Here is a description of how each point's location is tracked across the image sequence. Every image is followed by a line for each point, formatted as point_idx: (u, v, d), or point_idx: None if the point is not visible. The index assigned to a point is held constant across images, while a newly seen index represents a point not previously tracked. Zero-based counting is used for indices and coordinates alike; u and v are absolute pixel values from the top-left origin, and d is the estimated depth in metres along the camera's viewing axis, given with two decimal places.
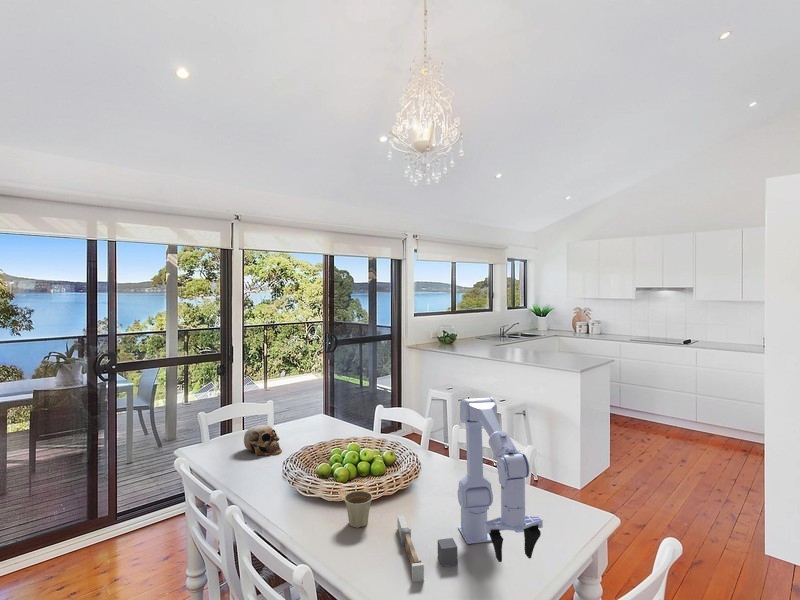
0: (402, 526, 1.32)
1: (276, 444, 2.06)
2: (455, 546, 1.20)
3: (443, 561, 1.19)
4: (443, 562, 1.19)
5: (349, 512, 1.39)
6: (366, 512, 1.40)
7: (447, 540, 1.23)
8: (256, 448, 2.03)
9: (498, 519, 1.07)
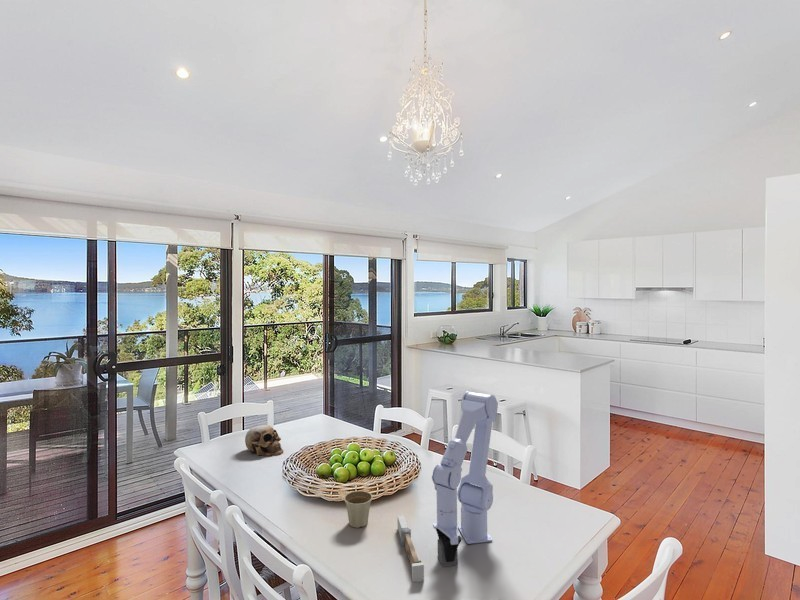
0: (402, 526, 1.32)
1: (277, 444, 2.05)
2: None
3: (443, 561, 1.19)
4: (443, 562, 1.19)
5: (349, 512, 1.39)
6: (366, 512, 1.40)
7: None
8: (257, 448, 2.03)
9: None
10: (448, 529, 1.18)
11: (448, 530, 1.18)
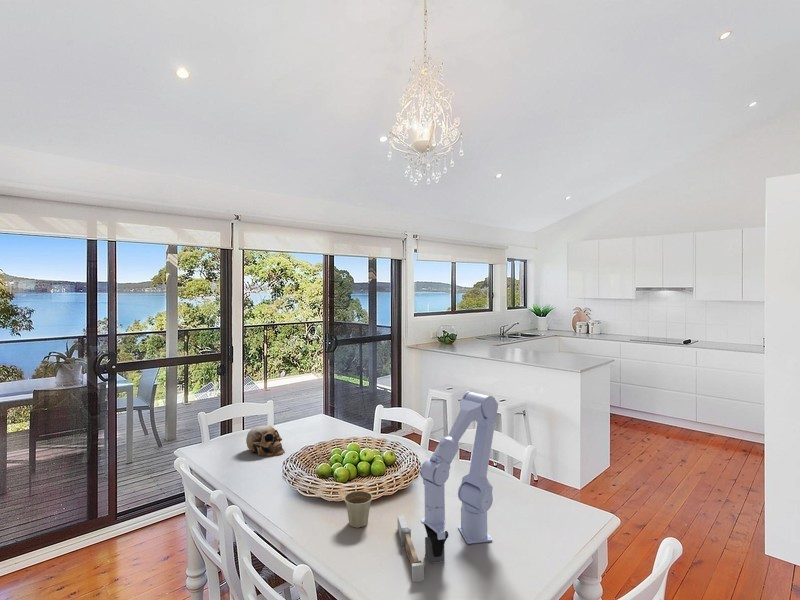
0: (402, 526, 1.32)
1: (279, 444, 2.05)
2: None
3: (430, 558, 1.20)
4: (430, 559, 1.20)
5: (349, 512, 1.39)
6: (366, 512, 1.40)
7: None
8: (259, 448, 2.02)
9: None
10: (435, 524, 1.20)
11: (435, 525, 1.20)
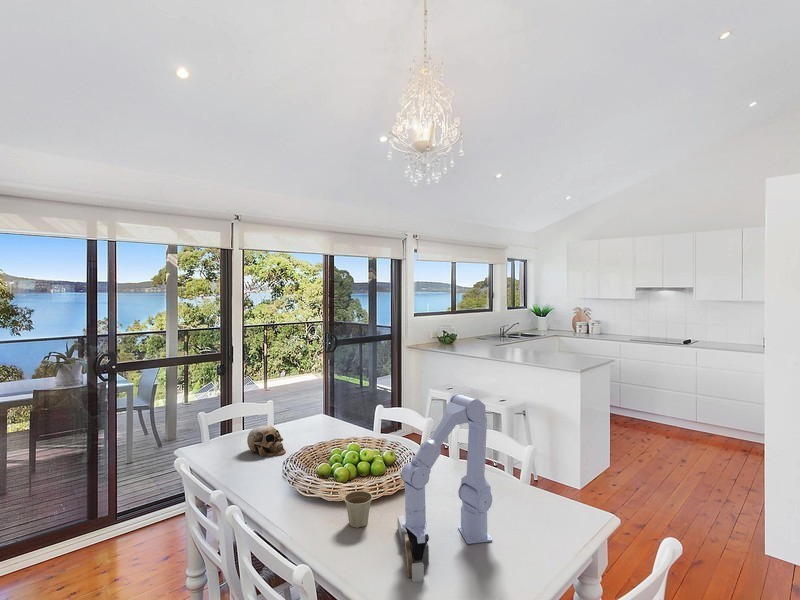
0: None
1: (280, 445, 2.05)
2: (426, 545, 1.20)
3: (414, 560, 1.20)
4: None
5: (349, 512, 1.39)
6: (366, 512, 1.40)
7: None
8: (260, 449, 2.02)
9: None
10: (416, 528, 1.19)
11: (416, 529, 1.19)
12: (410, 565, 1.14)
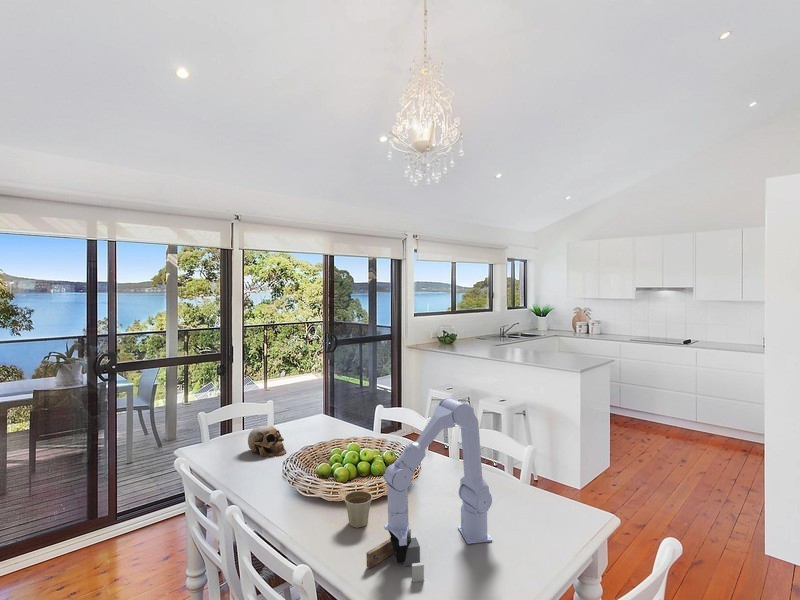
0: None
1: (281, 445, 2.05)
2: (417, 545, 1.20)
3: (405, 561, 1.19)
4: (405, 562, 1.19)
5: (349, 512, 1.39)
6: (366, 512, 1.40)
7: None
8: (260, 449, 2.02)
9: None
10: (398, 530, 1.18)
11: (398, 531, 1.18)
12: (367, 556, 1.18)
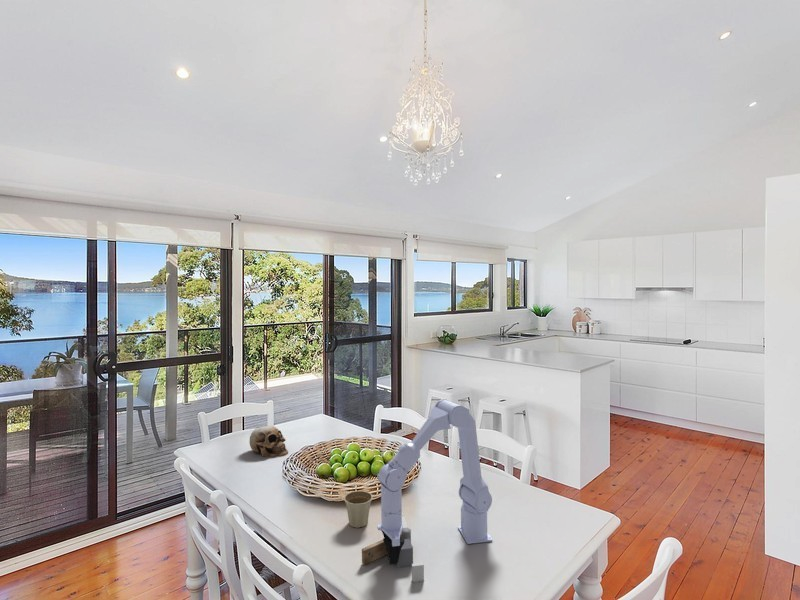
0: None
1: (282, 445, 2.04)
2: (410, 547, 1.20)
3: (398, 562, 1.19)
4: (398, 563, 1.19)
5: (349, 512, 1.39)
6: (366, 512, 1.40)
7: None
8: (262, 449, 2.02)
9: None
10: (391, 530, 1.17)
11: (391, 531, 1.17)
12: (362, 552, 1.20)
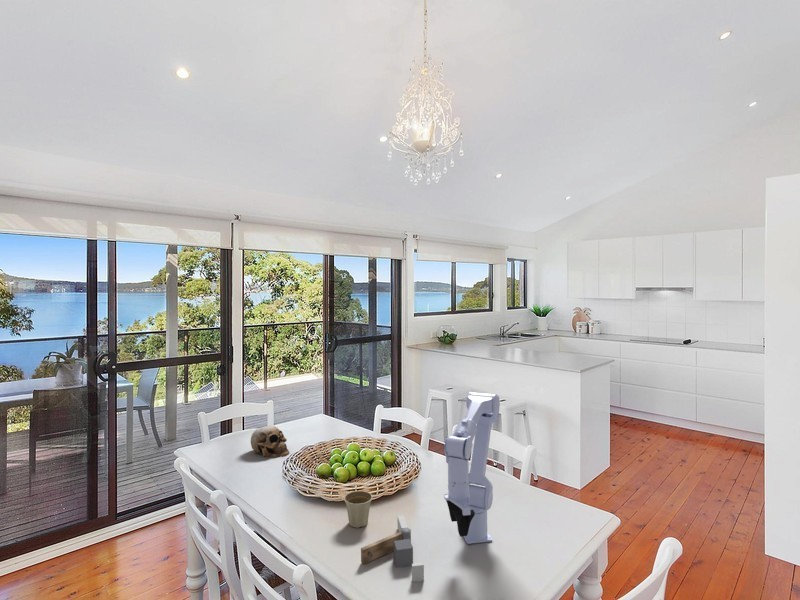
0: (402, 526, 1.32)
1: (284, 445, 2.04)
2: (411, 547, 1.20)
3: (398, 562, 1.19)
4: (398, 563, 1.19)
5: (349, 512, 1.39)
6: (366, 512, 1.40)
7: (403, 541, 1.23)
8: (263, 449, 2.01)
9: None
10: (460, 500, 1.17)
11: (460, 501, 1.17)
12: (362, 552, 1.20)
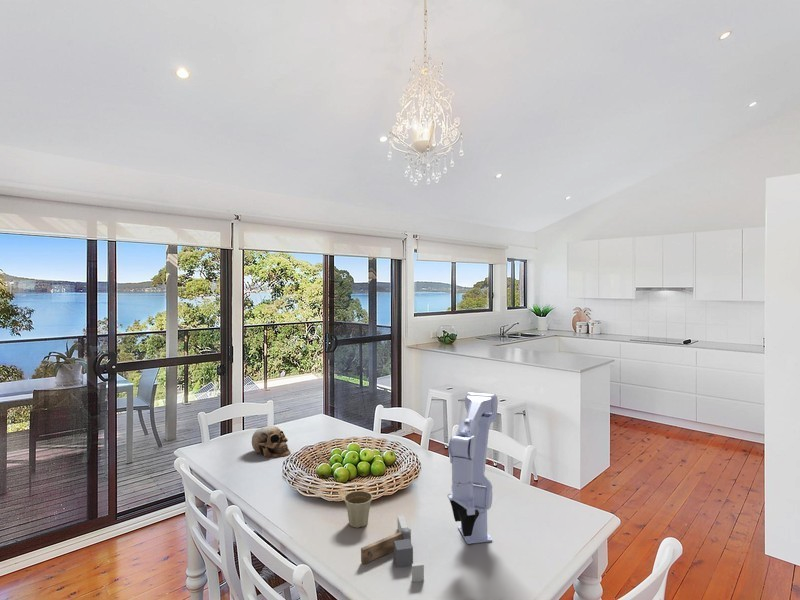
0: (402, 526, 1.32)
1: (285, 445, 2.04)
2: (410, 547, 1.20)
3: (398, 562, 1.19)
4: (398, 563, 1.19)
5: (349, 512, 1.39)
6: (366, 512, 1.40)
7: (403, 541, 1.23)
8: (265, 449, 2.01)
9: None
10: (464, 500, 1.17)
11: (464, 501, 1.17)
12: (362, 552, 1.20)
